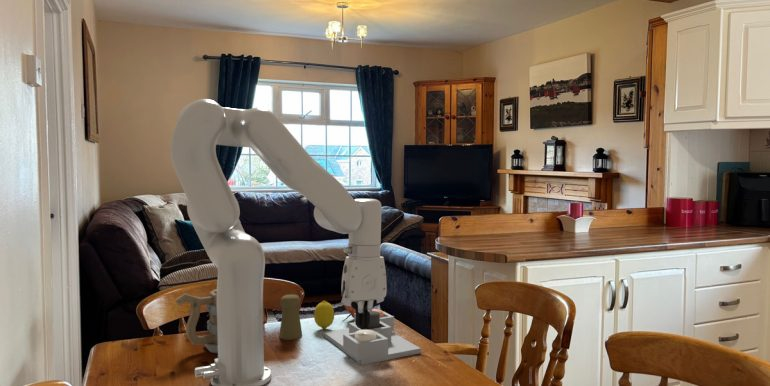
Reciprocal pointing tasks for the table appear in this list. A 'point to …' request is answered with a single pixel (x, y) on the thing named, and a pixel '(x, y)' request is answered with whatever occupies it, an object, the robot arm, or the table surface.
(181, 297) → the tankard
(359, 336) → the cream button
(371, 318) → the black button
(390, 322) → the grey stepped holder base
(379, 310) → the terracotta button
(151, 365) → the table surface
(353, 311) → the red flower
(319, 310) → the lemon
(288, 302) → the olive green shaker
